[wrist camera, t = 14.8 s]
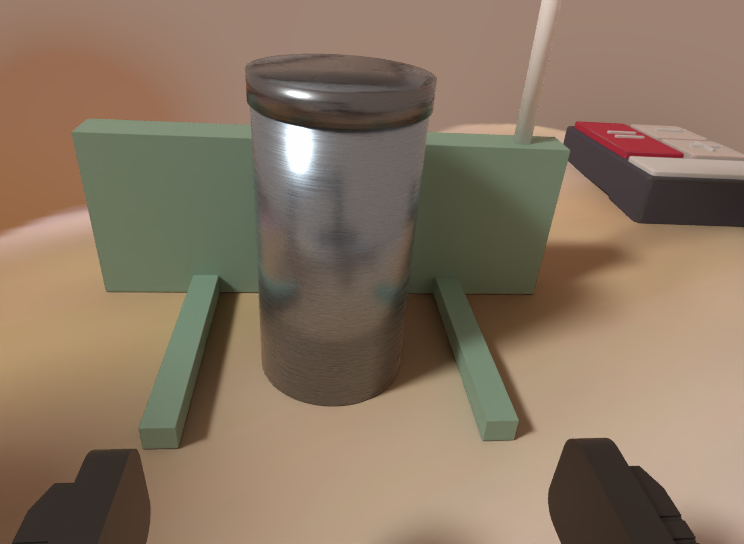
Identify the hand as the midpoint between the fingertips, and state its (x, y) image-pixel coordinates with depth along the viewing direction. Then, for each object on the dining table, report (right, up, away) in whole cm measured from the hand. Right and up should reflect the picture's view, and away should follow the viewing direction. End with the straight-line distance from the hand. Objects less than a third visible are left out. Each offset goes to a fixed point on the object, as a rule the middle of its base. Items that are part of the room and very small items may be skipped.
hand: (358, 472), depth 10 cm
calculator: (+24, +11, +36) cm, 44 cm away
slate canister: (-2, 0, +14) cm, 14 cm away
